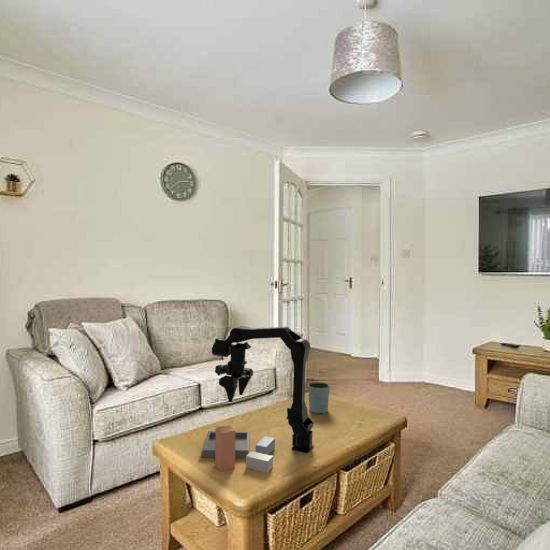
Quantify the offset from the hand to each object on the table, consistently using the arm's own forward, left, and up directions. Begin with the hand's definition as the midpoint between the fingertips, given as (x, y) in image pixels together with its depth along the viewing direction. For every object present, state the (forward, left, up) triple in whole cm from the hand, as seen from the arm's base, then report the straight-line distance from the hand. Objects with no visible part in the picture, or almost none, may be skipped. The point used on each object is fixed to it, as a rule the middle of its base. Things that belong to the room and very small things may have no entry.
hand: (235, 398), depth 158 cm
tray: (-3, +10, -15) cm, 18 cm away
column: (-9, +23, -15) cm, 29 cm away
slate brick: (-17, +7, -15) cm, 24 cm away
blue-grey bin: (-21, -42, -15) cm, 49 cm away
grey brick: (-20, +18, -15) cm, 31 cm away
